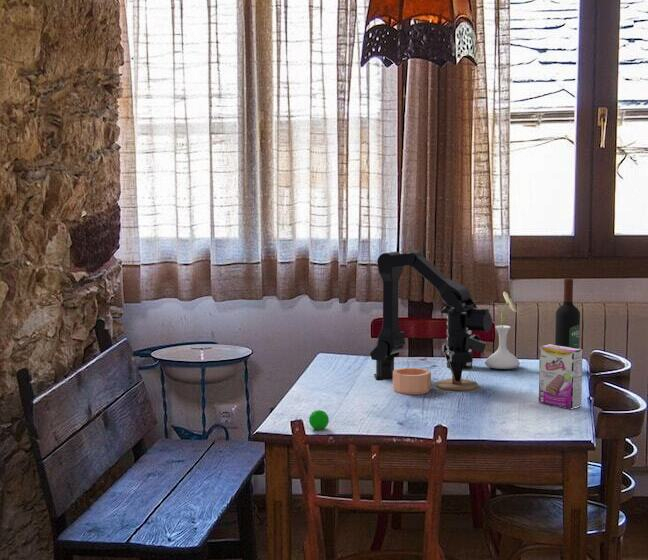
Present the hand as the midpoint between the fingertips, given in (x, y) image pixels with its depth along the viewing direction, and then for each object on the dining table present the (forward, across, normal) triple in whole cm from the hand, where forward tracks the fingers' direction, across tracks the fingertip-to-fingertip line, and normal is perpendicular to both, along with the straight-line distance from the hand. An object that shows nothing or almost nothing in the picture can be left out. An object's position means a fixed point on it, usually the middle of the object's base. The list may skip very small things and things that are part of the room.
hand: (456, 380), depth 307 cm
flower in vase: (+3, +28, -20) cm, 35 cm away
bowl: (+3, -3, +14) cm, 15 cm away
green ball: (+3, -43, +43) cm, 61 cm away
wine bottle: (+3, +20, -39) cm, 44 cm away
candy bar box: (+3, -23, -25) cm, 34 cm away
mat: (+2, 0, 0) cm, 2 cm away
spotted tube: (+3, +30, -6) cm, 31 cm away
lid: (+2, 0, 0) cm, 2 cm away
